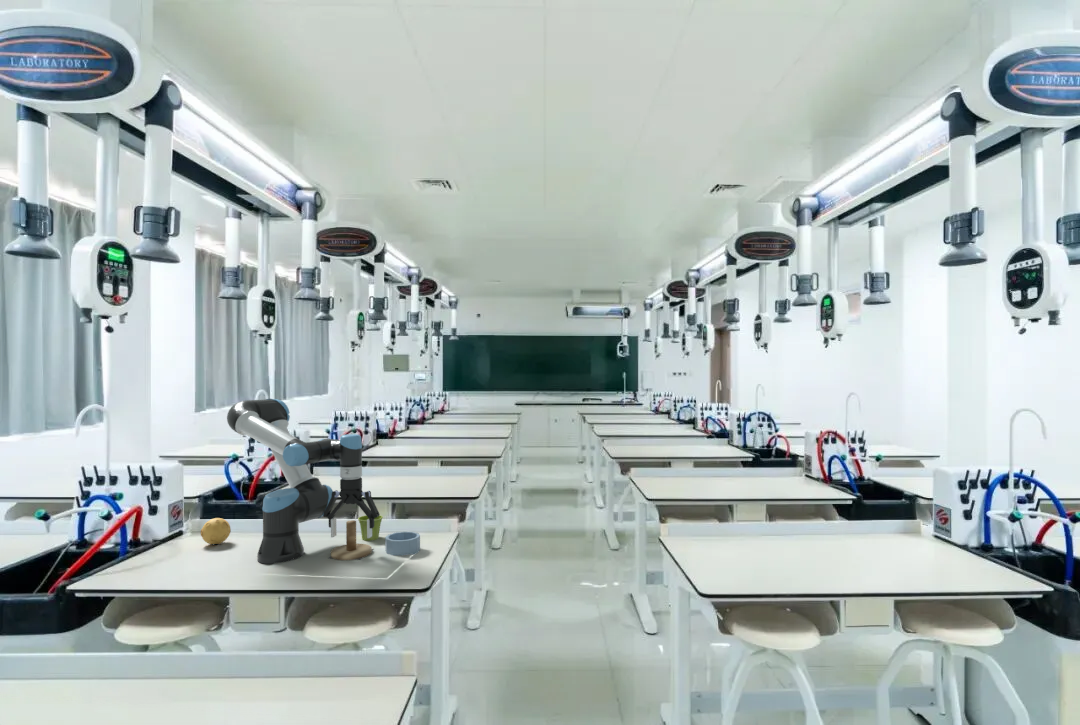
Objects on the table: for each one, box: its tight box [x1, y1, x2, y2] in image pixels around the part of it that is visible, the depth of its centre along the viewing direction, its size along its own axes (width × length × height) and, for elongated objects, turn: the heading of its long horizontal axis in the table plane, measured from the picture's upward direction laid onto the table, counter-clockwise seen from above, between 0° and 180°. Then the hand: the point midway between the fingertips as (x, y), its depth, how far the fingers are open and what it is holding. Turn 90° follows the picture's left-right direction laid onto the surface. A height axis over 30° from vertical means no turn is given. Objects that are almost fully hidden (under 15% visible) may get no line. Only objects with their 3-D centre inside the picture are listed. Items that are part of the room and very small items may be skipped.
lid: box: [330, 519, 373, 561], centre depth 208 cm, size 14×14×12 cm
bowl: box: [384, 531, 421, 556], centre depth 211 cm, size 12×12×6 cm
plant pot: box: [357, 514, 383, 542], centre depth 227 cm, size 9×9×9 cm
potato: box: [200, 517, 231, 545], centre depth 221 cm, size 10×10×10 cm
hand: (351, 536), depth 208 cm, fingers open, 13 cm apart
